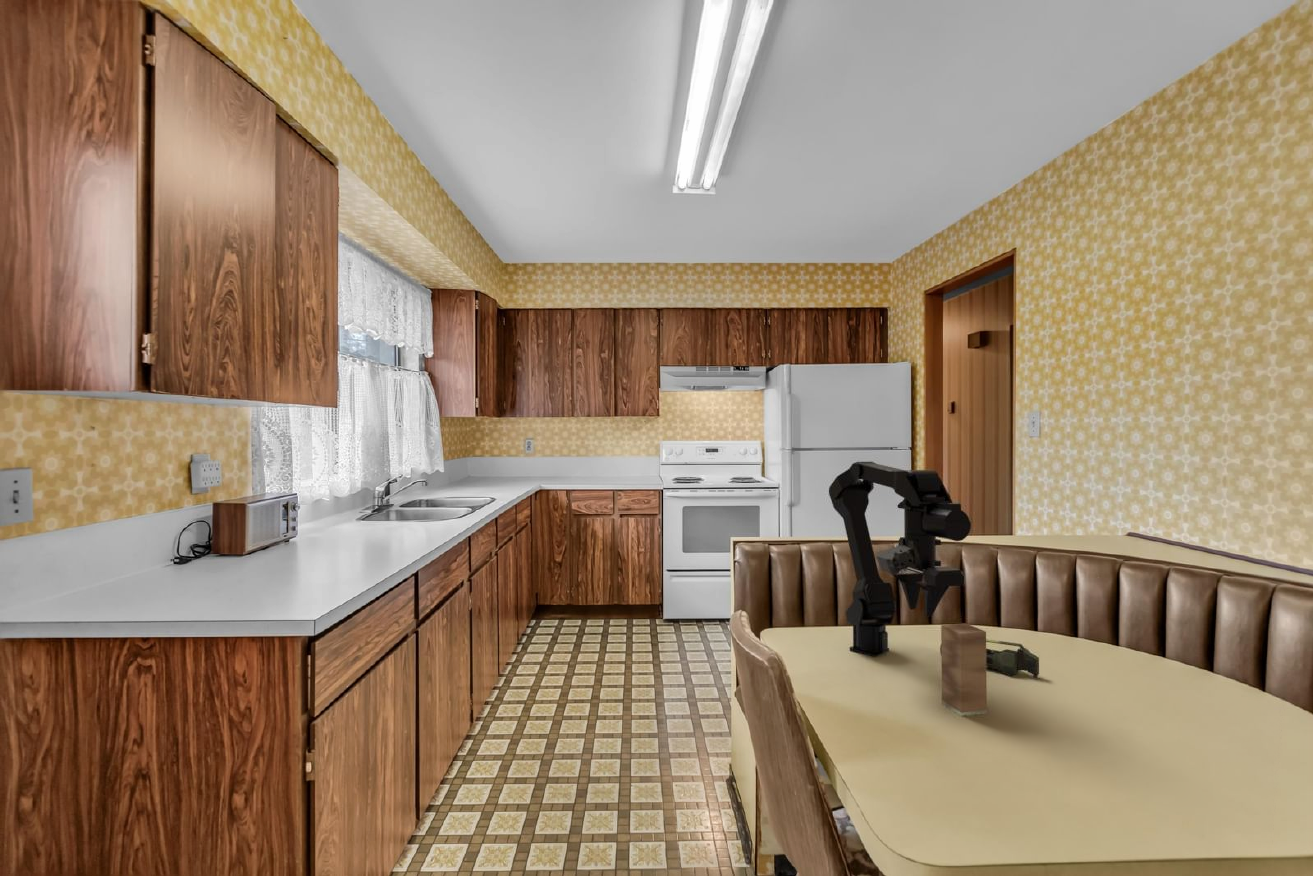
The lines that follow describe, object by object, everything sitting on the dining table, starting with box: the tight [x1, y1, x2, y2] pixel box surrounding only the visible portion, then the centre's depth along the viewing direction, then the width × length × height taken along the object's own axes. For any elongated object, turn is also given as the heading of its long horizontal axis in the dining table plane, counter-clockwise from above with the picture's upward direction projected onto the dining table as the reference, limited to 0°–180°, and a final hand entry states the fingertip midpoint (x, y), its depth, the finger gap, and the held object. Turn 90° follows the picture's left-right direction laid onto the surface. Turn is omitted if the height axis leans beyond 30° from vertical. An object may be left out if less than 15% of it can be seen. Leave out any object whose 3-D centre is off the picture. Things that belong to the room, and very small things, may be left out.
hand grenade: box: [939, 638, 1040, 679], centre depth 126 cm, size 6×5×18 cm
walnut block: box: [940, 622, 988, 717], centre depth 107 cm, size 5×5×14 cm
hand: (920, 612), depth 121 cm, fingers open, 5 cm apart
